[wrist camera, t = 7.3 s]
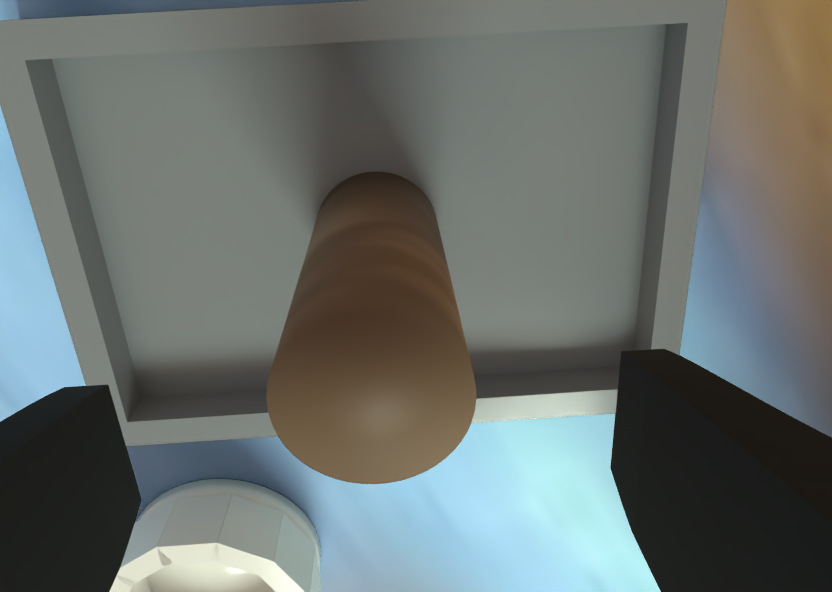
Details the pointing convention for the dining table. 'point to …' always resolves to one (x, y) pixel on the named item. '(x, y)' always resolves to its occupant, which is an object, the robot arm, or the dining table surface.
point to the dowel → (373, 340)
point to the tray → (354, 154)
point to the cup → (221, 542)
